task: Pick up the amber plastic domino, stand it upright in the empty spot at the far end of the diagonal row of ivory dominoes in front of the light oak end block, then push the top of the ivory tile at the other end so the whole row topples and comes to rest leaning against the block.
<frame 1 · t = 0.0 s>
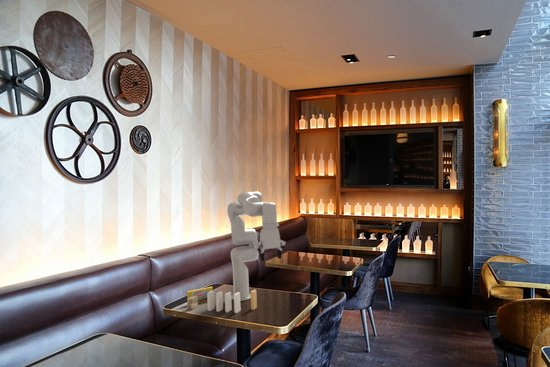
hand: (270, 259, 204), 31 cm above the table, tool pointing down, fingers open, 9 cm apart
end block: (192, 307, 228), on the table
domino 1: (237, 311, 219), on the table
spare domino: (254, 308, 224), on the table
domino 4: (211, 309, 225), on the table
domino 2: (228, 310, 221), on the table
candy box: (200, 303, 239), on the table
domino 3: (219, 310, 223), on the table
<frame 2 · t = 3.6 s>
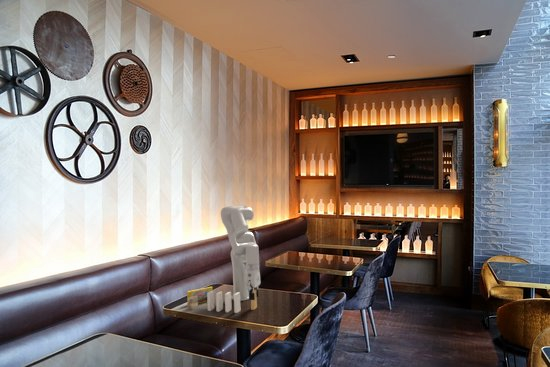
hand: (253, 297, 224), 6 cm above the table, tool pointing down, fingers closed on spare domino, 4 cm apart
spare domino: (254, 308, 224), on the table, touching gripper
everything else where it was.
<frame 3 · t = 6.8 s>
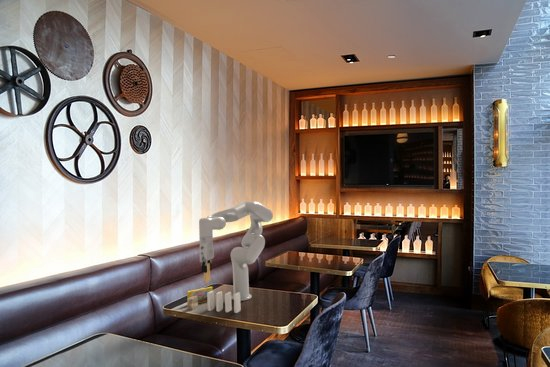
hand: (206, 271, 226), 22 cm above the table, tool pointing down, fingers closed on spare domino, 4 cm apart
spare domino: (207, 281, 226), point 16 cm above the table, touching gripper
everything else where it was.
when the fingers open (6 cm above the table, at t = 10.5 s): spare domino stays where it is, on the table.
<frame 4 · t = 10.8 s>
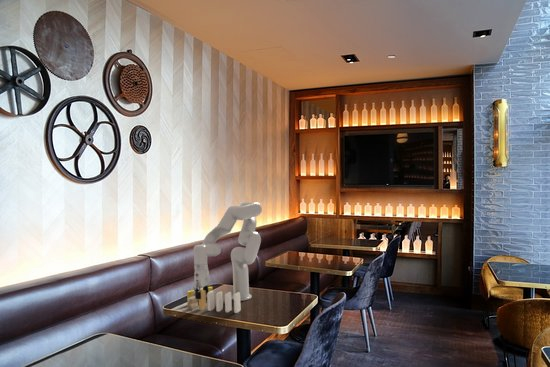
hand: (202, 296, 226), 7 cm above the table, tool pointing down, fingers open, 8 cm apart
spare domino: (202, 308, 226), on the table
everything else where it was.
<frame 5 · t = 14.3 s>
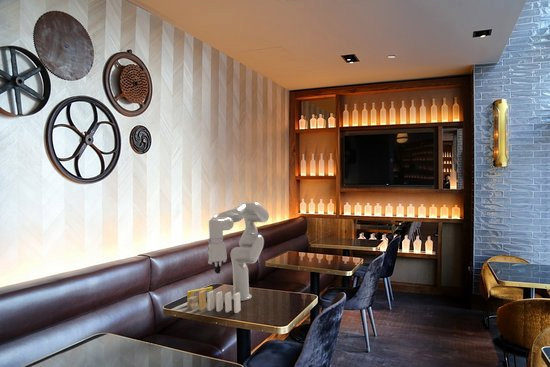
hand: (217, 273, 223), 21 cm above the table, tool pointing down, fingers closed
nothing on the table moved.
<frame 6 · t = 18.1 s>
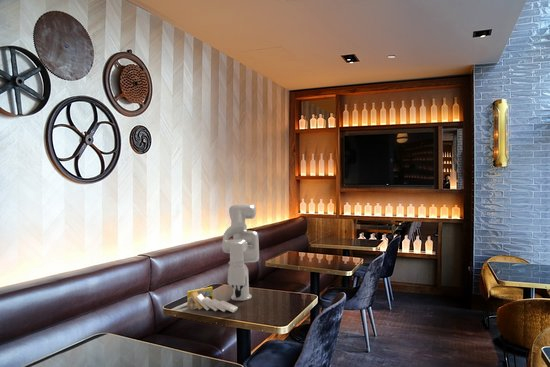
hand: (238, 296, 219), 8 cm above the table, tool pointing down, fingers closed
domino 1: (235, 310, 220), point 1 cm above the table, tilted 70°, touching domino 2
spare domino: (202, 307, 227), on the table, tilted 34°, touching domino 4, end block
domino 4: (210, 308, 225), point 1 cm above the table, tilted 49°, touching domino 3, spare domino
domino 2: (226, 309, 222), point 1 cm above the table, tilted 66°, touching domino 1, domino 3
domino 3: (218, 308, 223), point 1 cm above the table, tilted 60°, touching domino 2, domino 4
everything else where it was.
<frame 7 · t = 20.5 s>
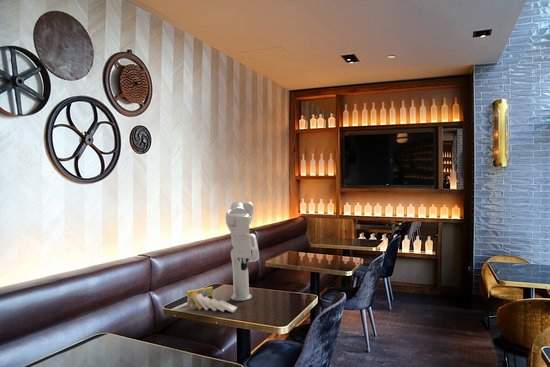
hand: (244, 269, 221), 23 cm above the table, tool pointing down, fingers closed
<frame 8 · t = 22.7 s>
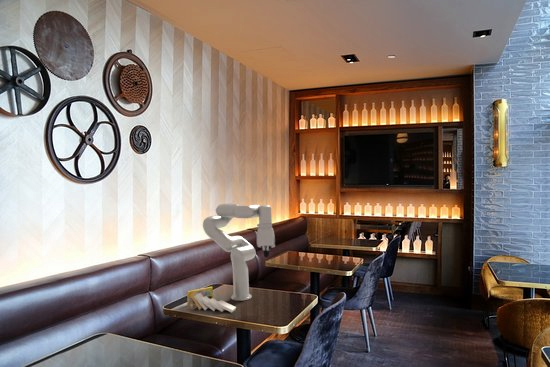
hand: (266, 257, 233), 27 cm above the table, tool pointing down, fingers closed
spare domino: (202, 307, 227), point 1 cm above the table, tilted 34°, touching domino 4, end block
at the end: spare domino tilted 34°; domino 3 tilted 57° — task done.
